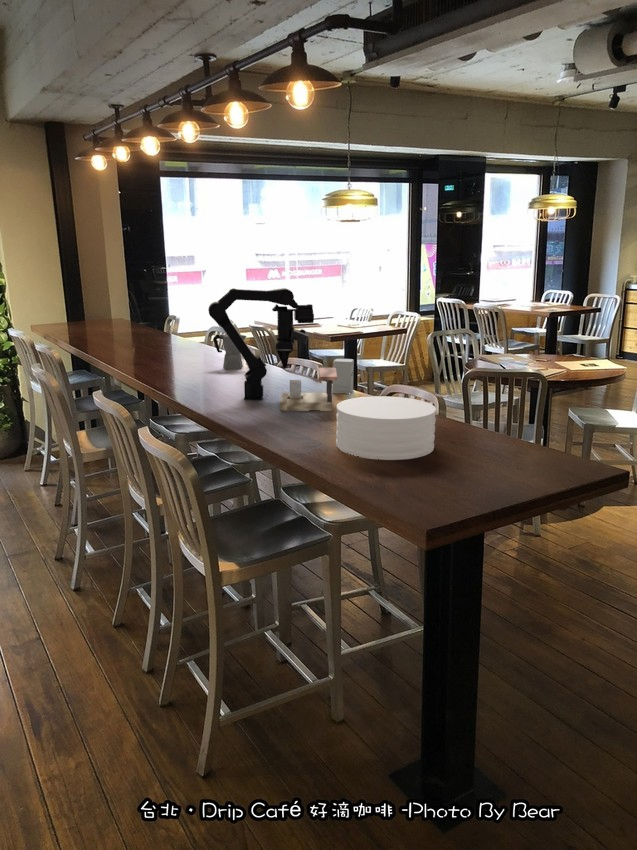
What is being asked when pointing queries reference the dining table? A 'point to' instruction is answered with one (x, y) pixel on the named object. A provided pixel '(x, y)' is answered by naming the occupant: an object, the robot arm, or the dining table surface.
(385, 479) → the dining table surface
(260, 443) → the dining table surface
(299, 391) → the peg
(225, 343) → the coffeepot
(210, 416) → the dining table surface
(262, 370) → the robot arm
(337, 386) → the supplement box
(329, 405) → the socket block
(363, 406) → the plate stack
